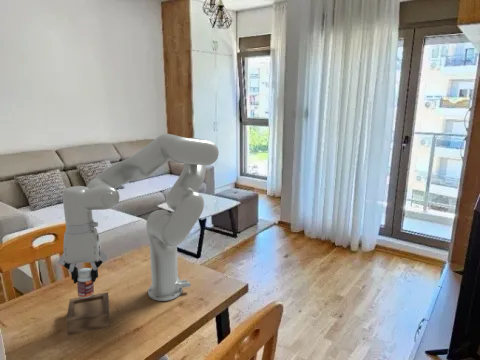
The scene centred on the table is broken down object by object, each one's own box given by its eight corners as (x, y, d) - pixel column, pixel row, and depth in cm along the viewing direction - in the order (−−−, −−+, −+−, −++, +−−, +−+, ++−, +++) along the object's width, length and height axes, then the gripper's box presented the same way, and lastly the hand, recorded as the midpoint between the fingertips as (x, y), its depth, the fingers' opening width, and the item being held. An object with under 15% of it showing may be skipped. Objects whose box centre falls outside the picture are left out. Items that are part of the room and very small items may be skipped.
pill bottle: (88, 299, 108) (87, 275, 106) (74, 297, 109) (73, 273, 107) (97, 291, 113) (96, 268, 111) (83, 289, 114) (83, 266, 112)
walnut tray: (109, 304, 121) (108, 292, 120) (109, 326, 110) (108, 312, 109) (71, 312, 117) (69, 299, 116) (68, 334, 106) (66, 320, 105)
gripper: (111, 220, 111) (115, 272, 115) (53, 223, 107) (60, 276, 112) (107, 229, 103) (111, 284, 108) (45, 233, 100) (52, 289, 105)
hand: (85, 279), depth 110 cm, fingers closed on pill bottle, 4 cm apart
